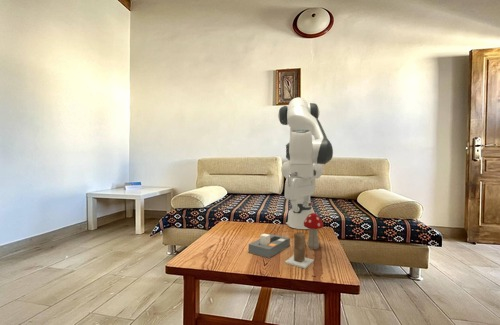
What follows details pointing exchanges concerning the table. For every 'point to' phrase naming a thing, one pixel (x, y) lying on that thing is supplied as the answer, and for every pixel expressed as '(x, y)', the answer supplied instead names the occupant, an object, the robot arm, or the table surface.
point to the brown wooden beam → (299, 247)
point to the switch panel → (269, 246)
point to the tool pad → (299, 264)
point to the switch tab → (264, 239)
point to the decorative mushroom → (313, 230)
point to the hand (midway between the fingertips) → (300, 208)
